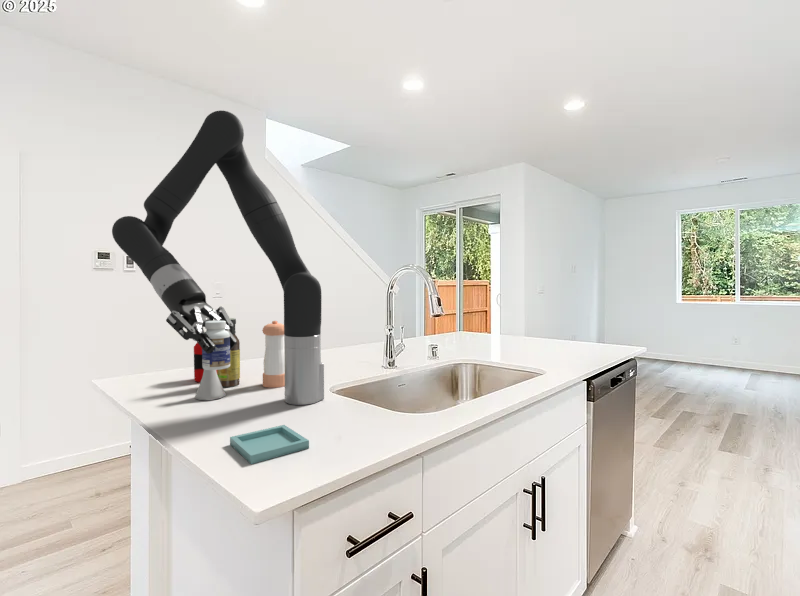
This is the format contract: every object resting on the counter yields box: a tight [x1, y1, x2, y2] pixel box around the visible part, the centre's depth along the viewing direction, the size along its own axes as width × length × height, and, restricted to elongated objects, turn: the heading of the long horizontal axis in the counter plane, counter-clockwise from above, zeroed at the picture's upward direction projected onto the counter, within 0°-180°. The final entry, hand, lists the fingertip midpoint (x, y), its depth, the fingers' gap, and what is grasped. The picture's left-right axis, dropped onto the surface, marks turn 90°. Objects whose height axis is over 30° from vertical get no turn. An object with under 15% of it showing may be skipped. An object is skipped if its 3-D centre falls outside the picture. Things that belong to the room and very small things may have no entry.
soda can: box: [193, 341, 217, 383], centre depth 134 cm, size 8×8×12 cm
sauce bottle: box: [217, 317, 241, 388], centre depth 127 cm, size 6×6×20 cm
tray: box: [229, 424, 310, 465], centre depth 82 cm, size 11×11×2 cm
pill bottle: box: [202, 320, 230, 370], centre depth 89 cm, size 5×5×10 cm
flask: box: [194, 369, 227, 401], centre depth 115 cm, size 7×7×10 cm
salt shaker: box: [261, 320, 285, 389], centre depth 128 cm, size 7×7×19 cm
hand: (223, 348), depth 89 cm, fingers closed on pill bottle, 5 cm apart
